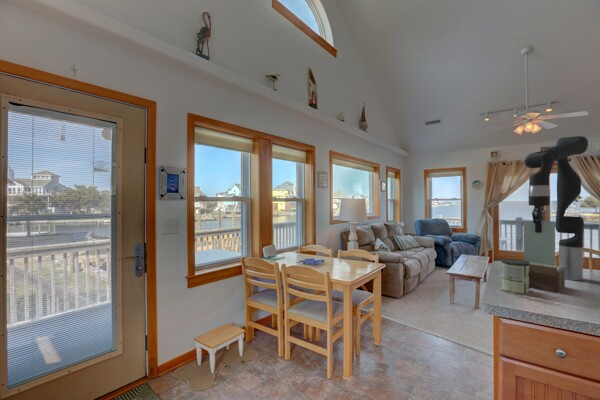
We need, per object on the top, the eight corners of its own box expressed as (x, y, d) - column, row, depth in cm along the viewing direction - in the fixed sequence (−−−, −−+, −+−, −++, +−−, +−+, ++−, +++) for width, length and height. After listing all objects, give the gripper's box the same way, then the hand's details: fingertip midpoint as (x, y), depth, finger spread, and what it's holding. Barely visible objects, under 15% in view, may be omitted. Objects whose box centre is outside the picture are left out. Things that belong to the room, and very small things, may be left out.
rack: (524, 281, 142) (524, 262, 142) (564, 289, 130) (564, 267, 130) (516, 286, 133) (516, 266, 133) (558, 295, 122) (558, 272, 121)
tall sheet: (524, 261, 134) (524, 220, 134) (555, 265, 125) (554, 221, 125) (523, 261, 133) (523, 220, 133) (554, 265, 124) (554, 221, 124)
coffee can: (498, 286, 133) (498, 257, 133) (525, 289, 129) (525, 259, 129) (503, 293, 124) (504, 262, 124) (532, 296, 120) (533, 264, 120)
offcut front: (525, 283, 136) (525, 262, 136) (555, 289, 127) (555, 267, 127) (524, 283, 135) (525, 263, 135) (555, 289, 126) (555, 267, 126)
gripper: (532, 195, 136) (532, 230, 136) (524, 195, 128) (524, 232, 128) (552, 195, 130) (552, 232, 130) (546, 195, 122) (546, 234, 122)
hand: (538, 232), depth 129 cm, fingers closed on tall sheet, 1 cm apart
